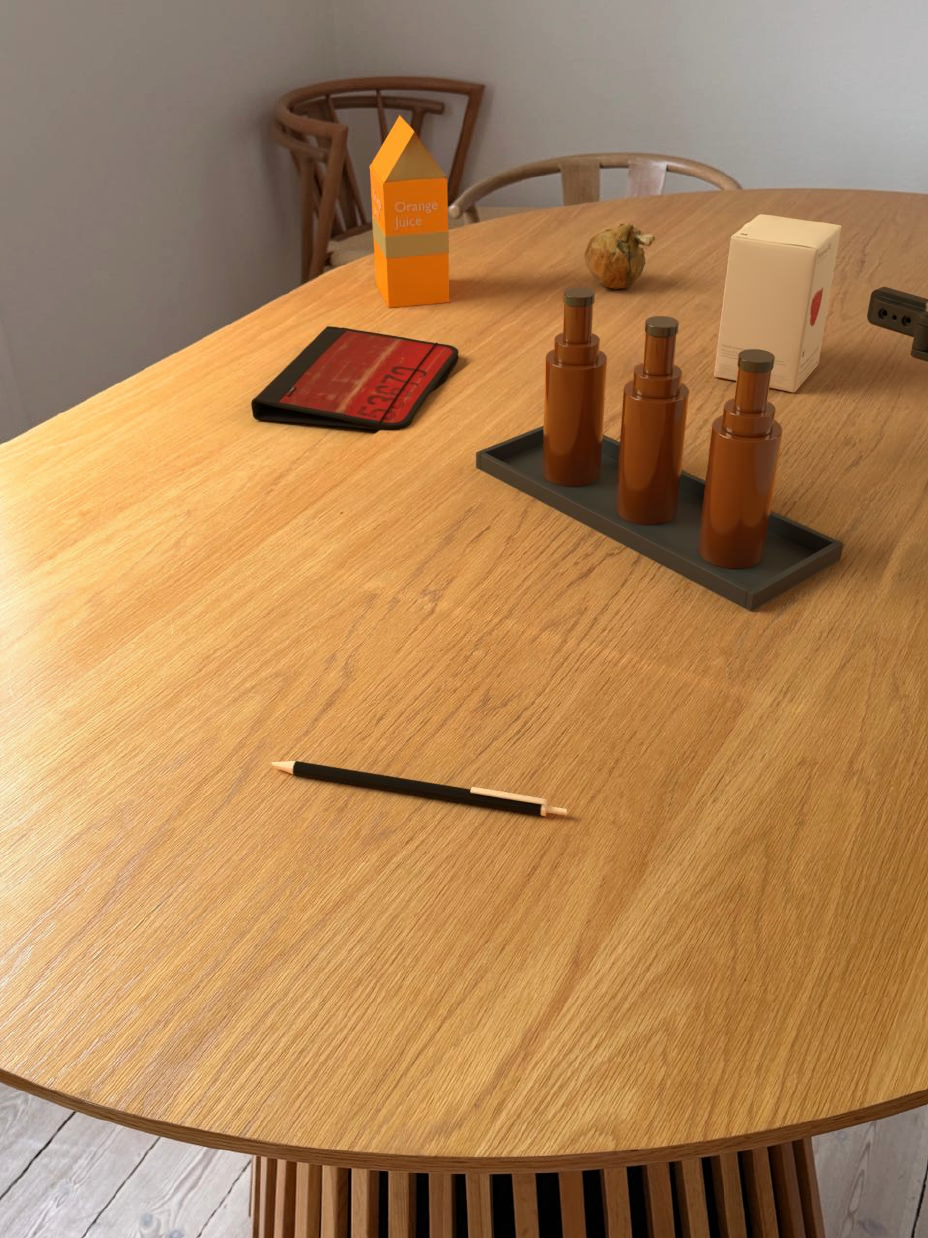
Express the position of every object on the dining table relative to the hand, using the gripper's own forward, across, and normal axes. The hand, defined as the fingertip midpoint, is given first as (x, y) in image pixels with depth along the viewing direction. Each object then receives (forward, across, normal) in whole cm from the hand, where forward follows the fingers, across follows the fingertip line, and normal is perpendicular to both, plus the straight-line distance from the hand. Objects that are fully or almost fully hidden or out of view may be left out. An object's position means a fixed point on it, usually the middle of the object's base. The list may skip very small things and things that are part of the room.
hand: (911, 287), depth 77 cm
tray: (+20, 0, -25) cm, 32 cm away
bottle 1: (+29, 0, -24) cm, 38 cm away
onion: (+62, +40, -25) cm, 79 cm away
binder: (+58, -2, -25) cm, 63 cm away
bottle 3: (+11, 0, -24) cm, 27 cm away
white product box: (+33, +33, -25) cm, 53 cm away
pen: (+6, -36, -25) cm, 45 cm away
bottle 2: (+20, 0, -24) cm, 32 cm away
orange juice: (+77, +20, -25) cm, 83 cm away
